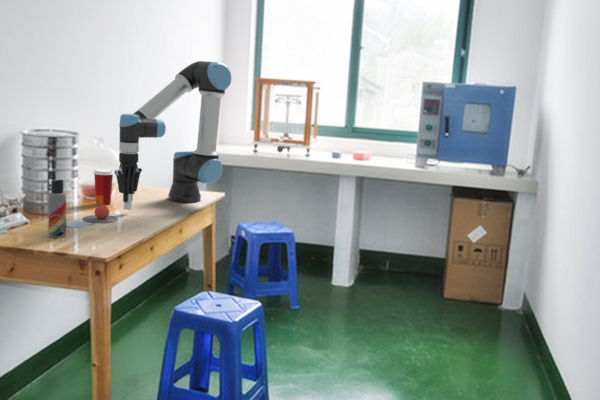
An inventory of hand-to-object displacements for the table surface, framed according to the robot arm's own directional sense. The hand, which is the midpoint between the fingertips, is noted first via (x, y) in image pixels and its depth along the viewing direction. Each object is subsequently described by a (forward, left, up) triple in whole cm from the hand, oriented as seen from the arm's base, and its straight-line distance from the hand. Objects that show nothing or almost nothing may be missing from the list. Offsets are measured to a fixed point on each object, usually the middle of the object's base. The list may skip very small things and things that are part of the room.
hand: (127, 209), depth 248 cm
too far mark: (+26, 0, -2) cm, 26 cm away
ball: (+13, 0, +1) cm, 13 cm away
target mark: (+14, 0, -2) cm, 14 cm away
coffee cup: (-5, -20, -2) cm, 21 cm away
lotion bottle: (+41, +9, -2) cm, 42 cm away
